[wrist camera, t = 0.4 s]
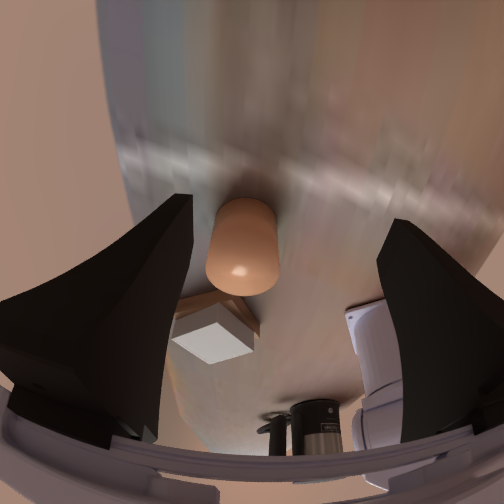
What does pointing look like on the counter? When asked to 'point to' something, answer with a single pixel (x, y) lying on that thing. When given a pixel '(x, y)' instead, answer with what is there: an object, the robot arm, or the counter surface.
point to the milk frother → (307, 431)
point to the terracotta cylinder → (244, 248)
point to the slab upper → (213, 334)
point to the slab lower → (227, 300)
